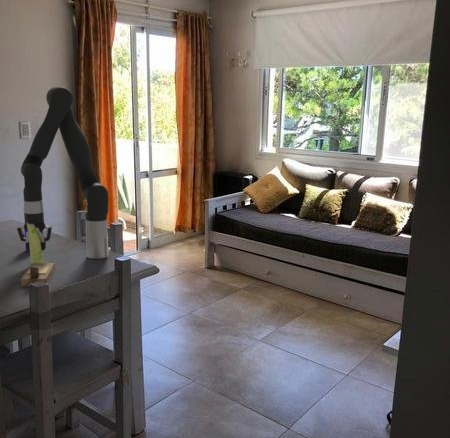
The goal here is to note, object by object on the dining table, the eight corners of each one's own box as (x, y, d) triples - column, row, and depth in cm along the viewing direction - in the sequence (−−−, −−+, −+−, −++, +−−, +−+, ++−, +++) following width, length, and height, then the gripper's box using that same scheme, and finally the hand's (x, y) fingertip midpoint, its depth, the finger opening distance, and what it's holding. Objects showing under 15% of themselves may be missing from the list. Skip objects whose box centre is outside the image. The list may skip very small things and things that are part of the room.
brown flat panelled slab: (55, 269, 199) (54, 253, 197) (46, 286, 182) (45, 268, 180) (32, 270, 197) (30, 254, 196) (21, 286, 180) (20, 269, 179)
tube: (42, 266, 202) (39, 221, 197) (29, 267, 201) (26, 221, 196) (44, 262, 207) (41, 218, 203) (31, 262, 206) (28, 218, 202)
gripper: (53, 208, 203) (55, 247, 208) (17, 208, 201) (20, 248, 205) (50, 212, 196) (52, 252, 200) (13, 213, 194) (15, 253, 198)
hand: (36, 250), depth 203 cm, fingers closed on tube, 5 cm apart
